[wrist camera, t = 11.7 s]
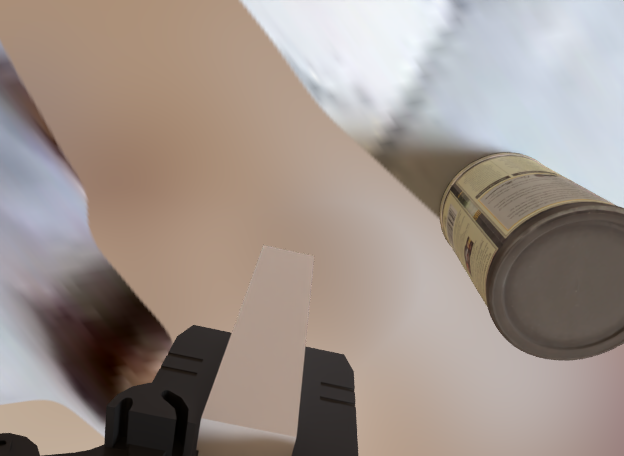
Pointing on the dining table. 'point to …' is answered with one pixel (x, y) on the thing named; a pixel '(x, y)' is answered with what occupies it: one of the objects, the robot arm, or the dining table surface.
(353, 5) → the dining table surface
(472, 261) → the coffee can
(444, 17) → the dining table surface
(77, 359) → the dining table surface
